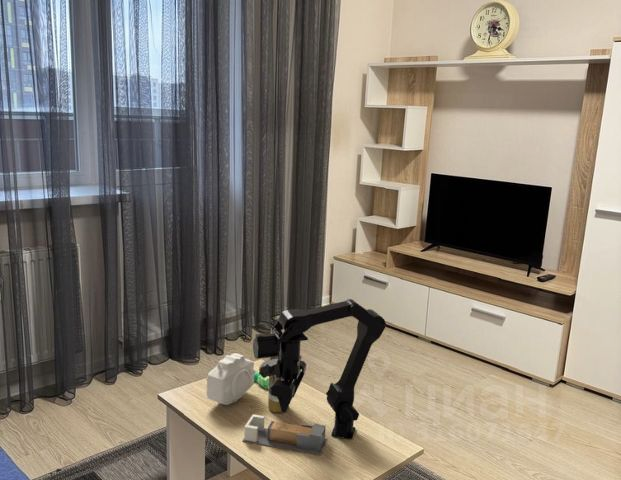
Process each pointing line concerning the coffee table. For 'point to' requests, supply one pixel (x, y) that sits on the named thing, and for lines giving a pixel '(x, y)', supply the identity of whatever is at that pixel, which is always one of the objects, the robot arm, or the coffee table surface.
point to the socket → (253, 428)
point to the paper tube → (272, 400)
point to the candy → (261, 380)
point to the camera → (230, 379)
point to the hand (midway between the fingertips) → (287, 404)
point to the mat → (280, 443)
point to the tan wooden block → (285, 432)
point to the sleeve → (312, 438)
